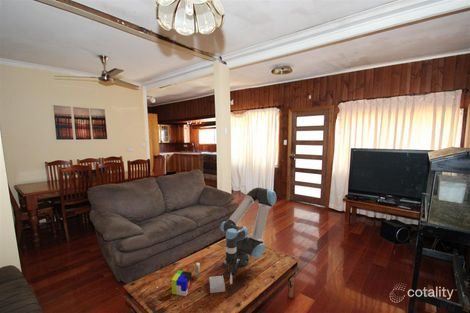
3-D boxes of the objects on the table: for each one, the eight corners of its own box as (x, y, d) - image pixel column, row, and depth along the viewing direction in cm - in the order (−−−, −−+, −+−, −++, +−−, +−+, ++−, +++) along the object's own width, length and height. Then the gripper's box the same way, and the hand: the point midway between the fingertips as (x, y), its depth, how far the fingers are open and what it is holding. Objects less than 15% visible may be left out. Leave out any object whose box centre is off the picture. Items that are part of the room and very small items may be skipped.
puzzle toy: (185, 296, 139) (185, 282, 138) (171, 293, 141) (171, 279, 140) (191, 285, 149) (191, 272, 148) (178, 283, 151) (178, 270, 150)
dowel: (199, 274, 161) (199, 262, 160) (199, 277, 157) (199, 265, 156) (194, 275, 160) (194, 262, 159) (194, 278, 157) (194, 265, 156)
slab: (222, 279, 156) (223, 275, 156) (225, 291, 144) (225, 287, 144) (209, 281, 154) (209, 277, 154) (210, 293, 142) (210, 288, 142)
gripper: (239, 247, 153) (238, 278, 155) (221, 249, 151) (221, 279, 153) (241, 253, 146) (240, 285, 148) (222, 255, 143) (222, 287, 146)
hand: (230, 282), depth 151 cm, fingers closed
